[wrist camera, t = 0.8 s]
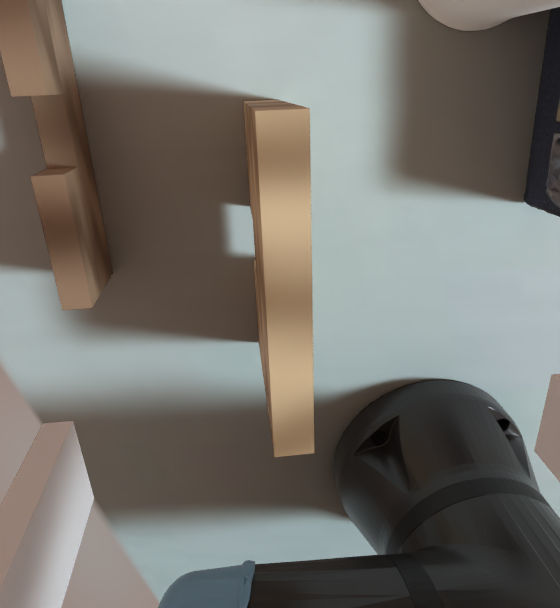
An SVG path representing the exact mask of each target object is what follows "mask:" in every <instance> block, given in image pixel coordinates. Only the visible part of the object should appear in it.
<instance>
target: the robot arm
mask: <svg viewBox="0 0 560 608" xmlns="http://www.w3.org/2000/svg"><path fill="white" fill-rule="evenodd" d="M534 451H535V452H536V453H537V455H538V456H539V457H540V458H541V460H542V461H543V462H544V463H545V464H546V466H547V467H548V468H549V469H550V471H551V472H552V473H553V474H554V475H555V477H556V478H557V479H558V480H559V482H560V374H553V375H551V380H550V384H549V389H548V393H547V397H546V402H545V406H544V410H543V415H542V419H541V424H540V428H539V432H538V437H537V441H536V446H535V450H534ZM334 476H335V481H336V485H337V489H338V492H339V496H340V499H341V502H342V505H343V507H344V509H345V511H346V513H347V514H348V516H349V518H350V519H351V520H352V522H353V523H354V524H355V526H356V527H357V528H358V529H359V531H360V532H361V533H362V535H363V536H364V537H365V538H366V540H367V541H368V542H369V544H370V545H371V546H372V547H373V549H374V550H375V551H376V553H377V554H378V555H370V556H357V557H345V558H333V559H320V560H308V561H295V562H281V563H267V564H255V562H254V561H250V560H247V561H245V562H244V563H243V564H242V565H238V566H230V567H223V568H215V569H207V570H200V571H193V572H190V573H187V574H185V575H183V576H181V577H179V578H178V579H177V580H176V581H175V582H174V583H173V584H172V585H171V586H170V587H169V588H168V590H167V591H166V593H165V594H164V596H163V598H162V600H161V602H160V604H159V607H158V608H560V518H559V516H558V515H557V514H556V513H555V512H554V510H553V509H552V508H551V506H550V505H549V504H548V503H547V501H546V500H545V499H544V497H543V496H542V495H541V493H540V491H539V488H538V485H537V482H536V478H535V475H534V472H533V469H532V466H531V463H530V460H529V457H528V453H527V450H526V447H525V444H524V441H523V438H522V435H521V433H520V431H519V429H518V427H517V426H516V424H515V422H514V421H513V420H512V418H511V417H510V416H509V415H508V414H507V412H506V411H505V410H504V409H503V408H502V407H501V405H500V404H499V403H498V402H497V401H496V400H495V399H494V398H493V397H492V396H490V395H489V394H488V393H486V392H484V391H483V390H481V389H479V388H477V387H474V386H472V385H469V384H466V383H461V382H456V381H446V380H436V381H425V382H420V383H415V384H411V385H408V386H404V387H402V388H399V389H396V390H394V391H392V392H390V393H388V394H386V395H384V396H382V397H381V398H379V399H377V400H376V401H374V402H373V403H371V404H370V405H369V406H368V407H366V408H365V409H364V410H363V411H362V412H361V413H360V414H359V415H358V416H357V417H356V418H355V419H354V420H353V421H352V422H351V424H350V425H349V426H348V428H347V429H346V431H345V432H344V434H343V436H342V438H341V440H340V442H339V444H338V447H337V450H336V454H335V459H334ZM93 501H94V495H93V492H92V488H91V485H90V481H89V477H88V474H87V470H86V466H85V463H84V459H83V455H82V452H81V448H80V444H79V441H78V437H77V433H76V430H75V426H74V422H73V421H65V422H55V423H44V424H42V426H41V428H40V430H39V432H38V434H37V436H36V438H35V440H34V442H33V444H32V446H31V448H30V450H29V452H28V454H27V455H26V458H25V459H24V461H23V463H22V465H21V467H20V469H19V471H18V473H17V475H16V477H15V479H14V481H13V483H12V485H11V487H10V488H9V490H8V492H7V494H6V496H5V498H4V501H3V502H2V504H1V506H0V608H61V606H62V603H63V599H64V596H65V593H66V590H67V587H68V583H69V580H70V577H71V573H72V570H73V566H74V563H75V560H76V557H77V554H78V550H79V547H80V544H81V540H82V537H83V534H84V531H85V527H86V524H87V521H88V517H89V514H90V511H91V508H92V504H93Z"/></svg>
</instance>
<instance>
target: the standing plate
mask: <svg viewBox="0 0 560 608" xmlns="http://www.w3.org/2000/svg"><path fill="white" fill-rule="evenodd" d="M0 52H1V56H2V60H3V65H4V69H5V73H6V77H7V81H8V85H9V90H10V94H11V97H16V96H31V100H32V104H33V109H34V113H35V118H36V122H37V127H38V131H39V135H40V140H41V144H42V149H43V153H44V158H45V162H46V166H47V169H45V170H43V171H41V172H39V173H37V174H35V175H32V176H30V177H31V181H32V185H33V189H34V194H35V198H36V202H37V206H38V210H39V214H40V219H41V223H42V227H43V231H44V235H45V239H46V244H47V248H48V252H49V256H50V260H51V264H52V269H53V273H54V277H55V281H56V285H57V289H58V294H59V298H60V302H61V306H62V310H72V309H85V308H93V306H94V304H95V303H96V301H97V299H98V298H99V296H100V294H101V292H102V291H103V289H104V287H105V286H106V284H107V282H108V281H109V279H110V277H111V275H112V274H113V272H112V267H111V261H110V256H109V251H108V245H107V240H106V235H105V229H104V224H103V219H102V214H101V208H100V203H99V198H98V192H97V187H96V182H95V176H94V171H93V166H92V160H91V155H90V150H89V144H88V139H87V134H86V129H85V123H84V118H83V113H82V107H81V102H80V97H79V91H78V86H77V81H76V75H75V70H74V65H73V60H72V54H71V49H70V44H69V38H68V33H67V28H66V22H65V17H64V12H63V6H62V1H61V0H0Z"/></svg>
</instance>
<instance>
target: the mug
mask: <svg viewBox="0 0 560 608" xmlns="http://www.w3.org/2000/svg"><path fill="white" fill-rule="evenodd" d="M418 1H419V2H420V4H421V5H422V7H423V8H424V9H425V10H426V11H427V12H428V13H429V14H430V15H431V16H432V17H433V18H434V19H436V20H437V21H439V22H440V23H442V24H444V25H446V26H448V27H451V28H454V29H458V30H464V31H477V30H484V29H488V28H491V27H494V26H496V25H499V24H501V23H503V22H505V21H507V20H508V19H510V18H514V17H518V16H522V15H527V14H531V13H535V12H540V11H544V10H548V9H552V8H557V7H560V0H418Z"/></svg>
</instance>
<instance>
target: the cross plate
mask: <svg viewBox="0 0 560 608" xmlns="http://www.w3.org/2000/svg"><path fill="white" fill-rule="evenodd" d="M243 103H244V118H245V134H246V150H247V165H248V181H249V196H250V208H251V213H252V218H253V228H254V244H255V260H254V274H255V290H256V305H257V321H258V337H259V347H260V355H261V362H262V369H263V377H264V384H265V391H266V399H267V406H268V414H269V421H270V428H271V436H272V443H273V451H274V457H282V456H292V455H301V454H311V453H314V391H313V319H312V247H311V175H310V109H309V108H306V107H302V106H299V105H295V104H291V103H288V102H284V101H281V100H258V101H243Z"/></svg>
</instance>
